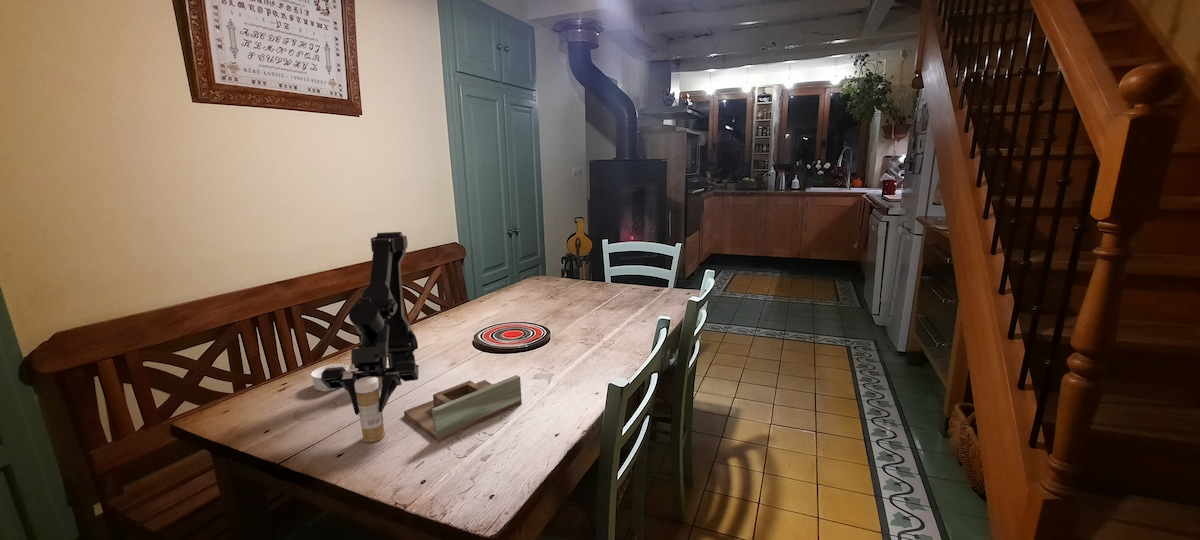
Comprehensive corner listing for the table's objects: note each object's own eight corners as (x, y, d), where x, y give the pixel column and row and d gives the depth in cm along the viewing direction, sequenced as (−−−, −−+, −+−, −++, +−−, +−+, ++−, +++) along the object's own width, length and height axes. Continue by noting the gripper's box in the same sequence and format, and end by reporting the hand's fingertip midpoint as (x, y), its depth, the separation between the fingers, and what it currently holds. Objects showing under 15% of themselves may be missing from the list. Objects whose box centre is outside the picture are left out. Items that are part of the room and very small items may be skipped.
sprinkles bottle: (385, 430, 108) (378, 374, 105) (384, 440, 104) (377, 382, 101) (363, 434, 107) (355, 377, 104) (361, 445, 103) (352, 386, 100)
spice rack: (404, 415, 114) (401, 387, 112) (484, 384, 130) (482, 358, 128) (438, 442, 103) (435, 411, 102) (521, 404, 119) (520, 376, 117)
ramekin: (308, 386, 130) (305, 371, 130) (343, 375, 137) (341, 360, 136) (319, 396, 125) (317, 380, 124) (355, 384, 131) (353, 369, 130)
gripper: (317, 333, 102) (305, 407, 94) (411, 325, 106) (408, 395, 98) (333, 354, 111) (325, 422, 103) (419, 346, 115) (417, 411, 107)
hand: (368, 413), depth 103 cm, fingers closed on sprinkles bottle, 4 cm apart
